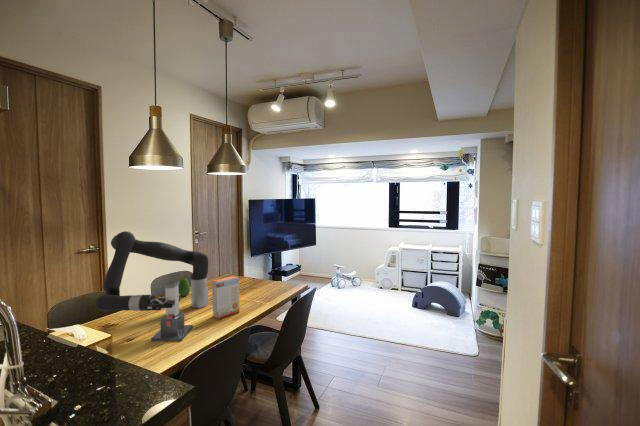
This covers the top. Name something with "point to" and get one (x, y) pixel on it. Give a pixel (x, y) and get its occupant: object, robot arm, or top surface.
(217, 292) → the cracker box
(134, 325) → the top surface
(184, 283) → the avocado
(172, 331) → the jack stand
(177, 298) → the column
